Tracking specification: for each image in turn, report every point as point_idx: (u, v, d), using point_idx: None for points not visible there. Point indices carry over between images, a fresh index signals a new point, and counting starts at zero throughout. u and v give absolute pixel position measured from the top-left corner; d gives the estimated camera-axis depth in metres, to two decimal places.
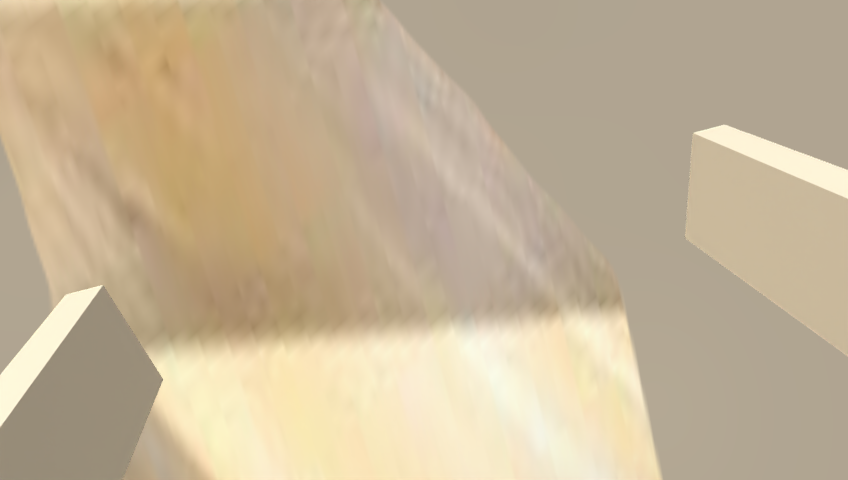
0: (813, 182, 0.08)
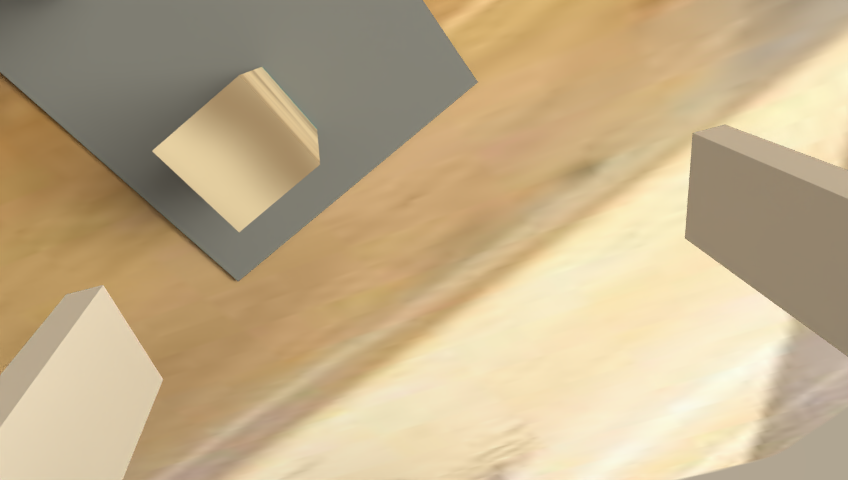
0: (813, 182, 0.08)
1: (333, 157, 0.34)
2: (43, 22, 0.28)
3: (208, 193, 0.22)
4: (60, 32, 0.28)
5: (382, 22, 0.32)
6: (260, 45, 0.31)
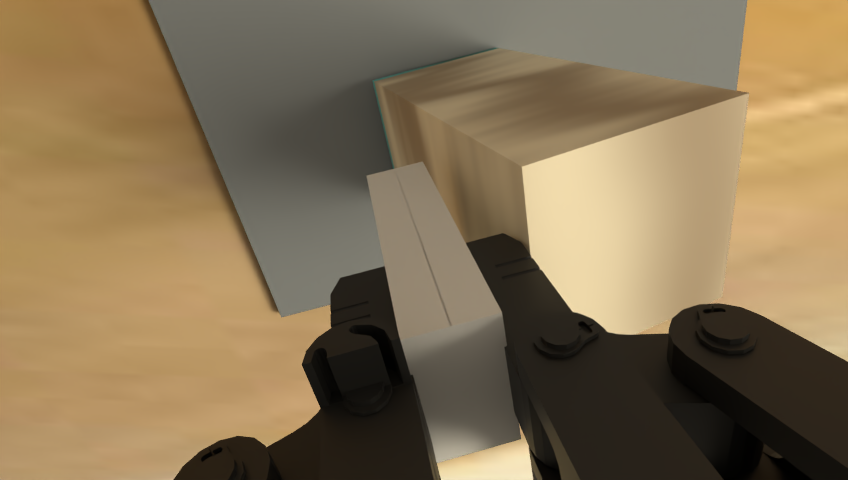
0: (416, 219, 0.10)
1: None
2: None
3: None
4: None
5: (676, 72, 0.21)
6: (513, 16, 0.19)
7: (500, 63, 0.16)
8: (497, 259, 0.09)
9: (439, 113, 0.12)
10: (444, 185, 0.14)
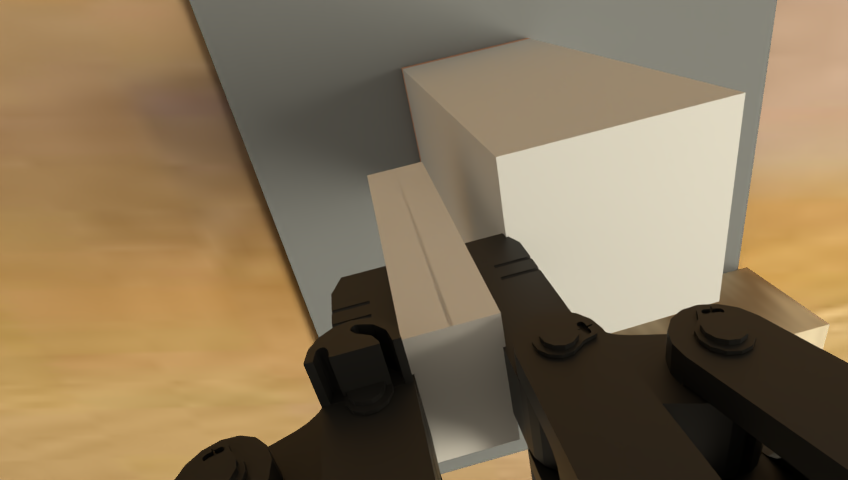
0: (415, 219, 0.10)
1: None
2: (364, 203, 0.21)
3: None
4: (375, 219, 0.21)
5: None
6: None
7: None
8: (496, 259, 0.09)
9: None
10: None
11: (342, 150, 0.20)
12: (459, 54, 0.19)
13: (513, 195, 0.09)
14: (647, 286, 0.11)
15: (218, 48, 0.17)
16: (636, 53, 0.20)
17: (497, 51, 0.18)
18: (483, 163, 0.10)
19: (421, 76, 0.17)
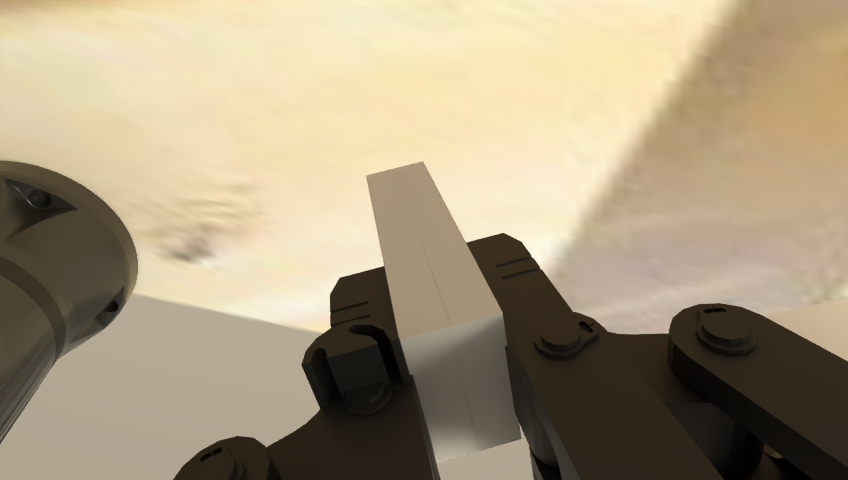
0: (417, 219, 0.10)
1: None
2: None
3: None
4: None
5: None
6: None
7: None
8: (497, 259, 0.09)
9: None
10: None
11: None
12: None
13: None
14: None
15: None
16: None
17: None
18: None
19: None
